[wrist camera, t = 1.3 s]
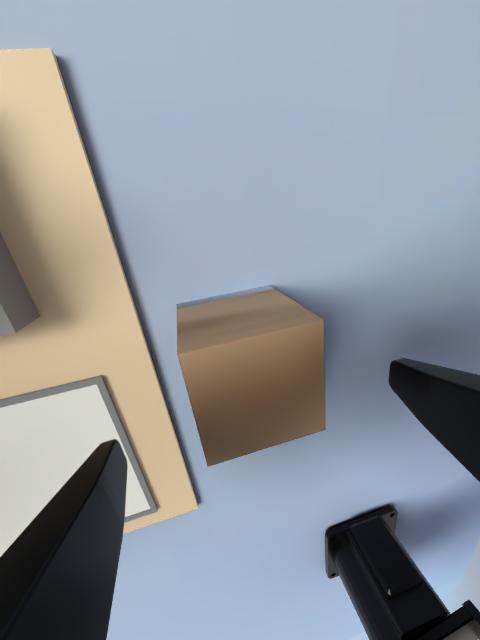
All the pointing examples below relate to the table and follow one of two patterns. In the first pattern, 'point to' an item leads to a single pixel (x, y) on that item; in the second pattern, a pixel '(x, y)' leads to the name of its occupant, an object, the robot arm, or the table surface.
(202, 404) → the block
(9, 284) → the button housing
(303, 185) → the table surface
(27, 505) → the tan rectangular board
